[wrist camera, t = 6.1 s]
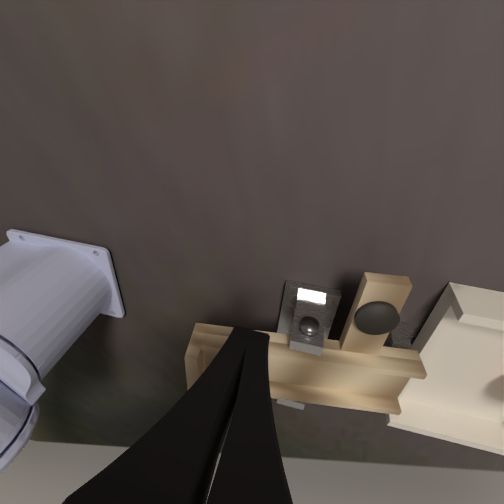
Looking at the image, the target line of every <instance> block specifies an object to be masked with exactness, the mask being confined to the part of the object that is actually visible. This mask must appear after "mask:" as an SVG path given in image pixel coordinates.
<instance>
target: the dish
mask: <svg viewBox="0 0 504 504" xmlns="http://www.w3.org/2000/svg"><path fill="white" fill-rule="evenodd" d="M410 350H417V351H418V353H419V355H420V358H421V360H422V363H423V365H424V368H425V370H426V373H427V376H426V378H425V379H417V378H410V380H409V381H408V383H407V384H406V386H405V387H404V389H403V390H402V392H401V393H400V395H399V396H398V401H399V404H400V408H401V411H402V412H401V413H400V415H394V414H387V413H386V420H387V425H388V426H392V427H396V428H400V429H404V430H408V431H412V432H415V433H419V434H423V435H427V436H431V437H435V438H439V439H443V440H447V441H451V442H454V443H458V444H462V445H466V446H470V447H474V448H478V449H482V450H486V451H489V452H493V453H497V454H501V455H504V292H499V291H493V290H488V289H483V288H477V287H472V286H467V285H461V284H456V283H450V282H449V283H448V285H447V287H446V288H445V290H444V292H443V294H442V295H441V297H440V299H439V300H438V302H437V304H436V305H435V307H434V309H433V310H432V312H431V314H430V315H429V317H428V319H427V321H426V322H425V324H424V326H423V327H422V329H421V331H420V332H419V334H418V336H417V337H416V339H415V341H414V342H413V344H412V346H411V349H410Z"/></svg>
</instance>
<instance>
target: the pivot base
mask: <svg viewBox="0 0 504 504" xmlns="http://www.w3.org/2000/svg"><path fill="white" fill-rule="evenodd" d="M340 299H341V291H339V290H334V289H329V288H324V287H319V286H314V285H309V284H304V283H299V282H294V281H289V280H286V285H285V290H284V296H283V302H282V307H281V313H280V319H279V324H278V330H277V333H282V334H290V335H291V338H290V345H289V349H293V350H297V351H301V352H306V353H310V354H314V355H319V356H321V354H322V351H323V345H324V339H327V338H328V335H329V332H330V329H331V326H332V323H333V320H334V317H335V314H336V311H337V308H338V305H339V302H340ZM383 346H385V347H393V348H401V349H409V350H410V349H411V343H410V339H409V335H408V330H407V326H406V323H403V322H399V324H398V325H397V327H396V328H395V329H393V330H392V331H390V332H389V334H388V336H387V338H386V340H385V342H384V344H383ZM277 403H279V404H282V405H286V406H290V407H294V408H298V409H302V410H303V409H304V406H305V402H298V401H290V400H283V399H277Z"/></svg>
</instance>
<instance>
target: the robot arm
mask: <svg viewBox="0 0 504 504" xmlns="http://www.w3.org/2000/svg"><path fill="white" fill-rule="evenodd" d="M7 236H8V238H9V240H10V241H9V242H7V243H5V244H4V245H2V246H1V247H0V474H1V473H2V472H3V471H4V470H5V469H6V468H7V467H8V466H9V465H10V464H11V463H12V462H13V461H14V459H15V458H16V457H17V456H18V455H19V453H20V452H21V451H22V449H23V448H24V447H25V445H26V444H27V442H28V440H29V439H30V437H31V435H32V433H33V431H34V428H35V425H36V423H37V420H38V417H39V411H40V408H39V404H38V403H37V400H38V398H39V397H40V396H41V395H42V394H43V392H44V391H45V390H46V388H45V387H44V386H43V385H42V384H41V383H40V381H41V380H42V379H43V378H44V377H45V376H46V375H47V373H48V372H49V371H50V370H51V369H52V368H53V367H54V365H55V364H56V363H57V362H58V361H59V360H60V358H61V357H62V356H63V355H64V354H65V353H66V352H67V350H68V349H69V348H70V347H71V346H72V345H73V344H74V342H75V341H76V340H77V339H78V338H79V337H80V336H81V334H82V333H83V332H84V331H85V330H86V329H87V327H88V326H89V325H90V324H91V323H92V322H93V321H94V319H95V318H96V317H97V316H98V315H99V314H100V313H102V314H106V315H110V316H114V317H119V318H122V317H123V316H124V314H125V312H124V308H123V304H122V300H121V296H120V292H119V288H118V284H117V280H116V276H115V272H114V268H113V264H112V260H111V256H110V253H109V251H108V250H107V249H106V248H104V247H99V246H94V245H89V244H84V243H79V242H74V241H69V240H64V239H59V238H54V237H49V236H45V235H40V234H35V233H30V232H25V231H20V230H15V229H10V230H9V231H7ZM269 340H270V336H269V334H268V333H263V332H259V331H255V330H250V329H246V328H242V327H237V326H236V327H234V328H233V330H232V332H231V333H230V335H229V337H228V338H227V340H226V342H225V343H224V345H223V346H222V348H221V349H220V351H219V352H218V353H217V355H216V356H215V358H214V359H213V360H212V362H211V363H210V364H209V366H208V367H207V368H206V370H205V371H204V372H203V373H202V375H201V376H200V377H199V378H198V379H197V381H196V382H195V383H194V384H193V385H192V386H191V388H190V389H189V390H188V391H187V392H186V393H185V394H184V396H183V397H182V398H181V399H180V400H179V401H178V402H177V403H176V404H175V405H174V406H173V407H172V408H171V409H170V410H169V411H168V412H167V413H166V415H165V416H164V417H163V418H161V419H160V420H159V421H158V422H157V423H156V424H155V425H154V426H153V427H152V428H151V429H150V430H149V431H148V432H147V433H146V434H145V435H143V436H142V437H141V438H140V439H139V440H138V441H137V442H136V443H135V444H133V445H132V446H131V447H130V448H129V449H127V450H126V451H125V452H124V453H123V454H122V455H120V456H119V457H118V458H117V459H116V460H114V462H112V463H111V464H110V465H108V466H107V467H106V468H105V469H104V470H102V471H101V472H100V473H98V474H97V475H96V476H95V477H93V478H92V479H91V480H89V481H88V482H87V483H85V484H84V485H83V486H81V487H80V488H79V489H77V490H76V491H75V492H73V493H72V494H71V495H70V496H68V497H67V498H66V499H65V501H64V502H63V503H62V504H293V502H292V498H291V495H290V491H289V487H288V483H287V479H286V475H285V472H284V467H283V463H282V458H281V454H280V449H279V444H278V439H277V434H276V429H275V423H274V417H273V410H272V403H271V395H270V384H269V371H268V349H269ZM233 411H234V413H233ZM232 414H233V416H232ZM231 417H232V420H231ZM230 420H231V423H230ZM229 423H230V427H229V430H228V434H227V437H226V440H225V444H224V447H223V450H222V454H221V457H220V461H219V464H218V467H217V470H216V474H215V477H214V480H213V483H212V487H211V490H210V493H209V489H210V485H211V481H212V477H213V474H214V470H215V466H216V462H217V458H218V455H219V452H220V449H221V446H222V443H223V440H224V437H225V434H226V432H227V429H228V426H229ZM208 493H209V496H208ZM207 497H208V500H207ZM206 500H207V503H206Z"/></svg>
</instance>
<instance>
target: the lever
mask: <svg viewBox="0 0 504 504" xmlns="http://www.w3.org/2000/svg"><path fill="white" fill-rule="evenodd" d="M412 287H413V286H412V284H411V282H410V280H409V278H408V277H404V276H395V275H387V274H378V273H369V272H364V274H363V277H362V280H361V282H360V285H359V288H358V291H357V293H356V296H355V299H354V301H353V304H352V307H351V310H350V312H349V315H348V318H347V321H346V323H345V326H344V329H343V331H342V334H341V337H340V340H339V341H338V340H330V339H324V345H323V351H322V354H321V356H319V355H314V354H310V353H306V352H301V351H297V350H293V349H289V345H290V338H291V335H290V334H282V333H274V332H266V331H259V332H263V333H268V334H269V336H270V340H269V349H268V371H269V384H270V395H271V398H275V399H283V400H290V401H298V402H305V403H312V404H320V405H327V406H335V407H342V408H350V409H357V410H364V411H372V412H379V413H387V414H394V415H400V413H401V412H402V411H401V408H400V404H399V401H398V396H399V395H400V393H401V392H402V390H403V389H404V387H405V386H406V384H407V383H408V381H409V380H410V378H417V379H425V378H426V376H427V373H426V370H425V368H424V365H423V363H422V360H421V358H420V355H419V353H418V351H417V350H409V349H401V348H393V347H385V346H383V344H384V342H385V340H386V338H387V336H388V334H389V332H390V331H392V330H393V329H395V328H396V327H397V325H398V324H399V321H400V317H399V313H400V311H401V309H402V307H403V305H404V303H405V301H406V299H407V297H408V295H409V293H410V291H411V289H412ZM233 328H234V327H226V326H218V325H210V324H202V323H196V324H195V327H194V330H193V333H192V336H191V339H190V342H189V345H188V348H187V351H186V354H185V357H184V359H185V369H186V379H187V388H188V390H189V389H190V388H191V386H192V385H193V384H194V383H195V382H196V381H197V379H198V378H199V377H200V376H201V375H202V373H203V372H204V371H205V370H206V368H207V367H208V366H209V364H210V363H211V362H212V360H213V359H214V358H215V356H216V355H217V353H218V352H219V351H220V349H221V348H222V346H223V345H224V343H225V342H226V340H227V338H228V337H229V335H230V333H231V332H232V330H233ZM255 331H258V330H255Z"/></svg>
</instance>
